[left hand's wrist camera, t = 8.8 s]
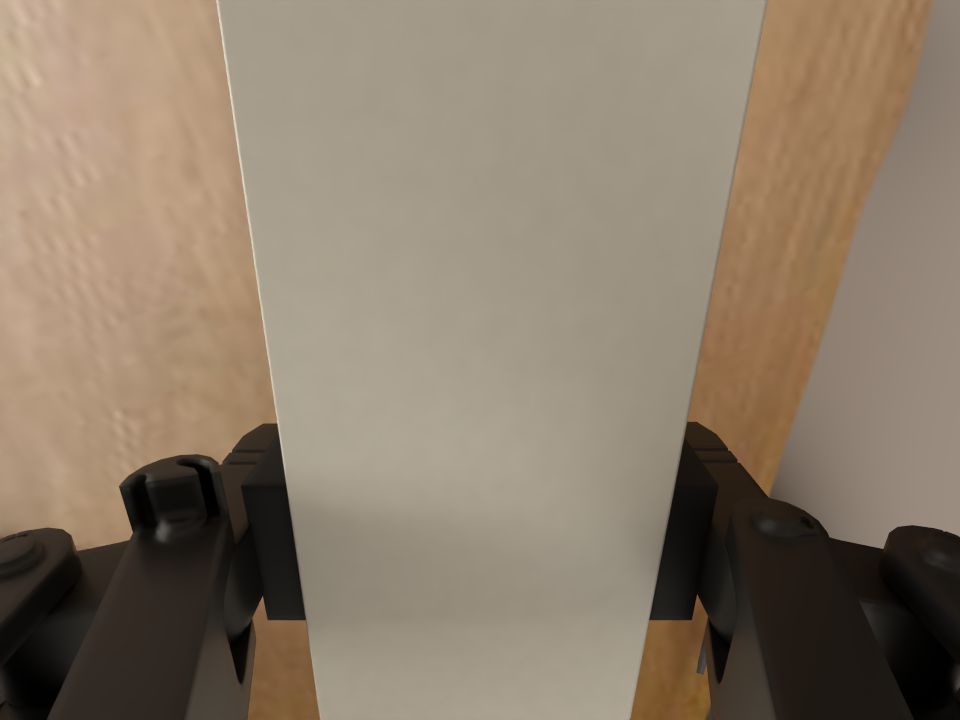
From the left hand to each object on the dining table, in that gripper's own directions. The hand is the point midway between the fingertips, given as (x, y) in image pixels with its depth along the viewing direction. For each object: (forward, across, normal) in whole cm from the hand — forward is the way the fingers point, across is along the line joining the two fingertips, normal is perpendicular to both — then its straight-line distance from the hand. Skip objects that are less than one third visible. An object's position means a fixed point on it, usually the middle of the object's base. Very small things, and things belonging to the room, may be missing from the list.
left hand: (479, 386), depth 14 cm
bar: (+1, -1, -31) cm, 31 cm away
